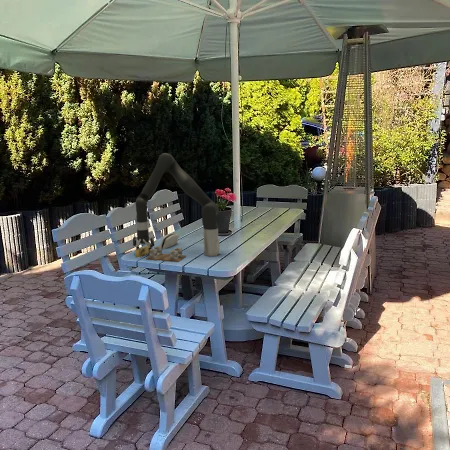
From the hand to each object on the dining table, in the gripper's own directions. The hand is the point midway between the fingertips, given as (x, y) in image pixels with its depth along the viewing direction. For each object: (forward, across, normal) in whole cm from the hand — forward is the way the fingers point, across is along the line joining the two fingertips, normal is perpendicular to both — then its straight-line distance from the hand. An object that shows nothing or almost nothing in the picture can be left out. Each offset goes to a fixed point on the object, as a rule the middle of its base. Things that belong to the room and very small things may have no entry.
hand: (144, 252), depth 298 cm
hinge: (+2, -7, -24) cm, 25 cm away
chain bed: (+1, -18, +5) cm, 19 cm away
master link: (+1, 0, 0) cm, 1 cm away
